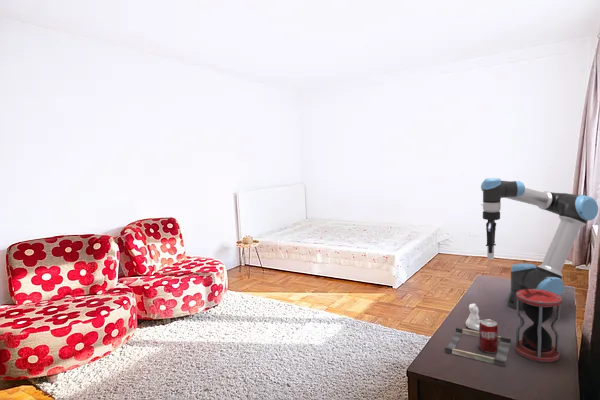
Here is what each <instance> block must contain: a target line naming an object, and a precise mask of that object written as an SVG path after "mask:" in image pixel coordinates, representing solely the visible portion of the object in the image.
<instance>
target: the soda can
mask: <svg viewBox="0 0 600 400" xmlns="http://www.w3.org/2000/svg"><path fill="white" fill-rule="evenodd" d="M480 320H481V321H480V322H479V331H478V332H479V337H478V348H479V349H480V350H481V351H482V352H485V353H488V354H494V353H497V351H498V348H499V341H498V336H499V324H498V322H497V321H495V320H492V319H486V318H485V319H480Z"/></svg>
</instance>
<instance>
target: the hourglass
mask: <svg viewBox="0 0 600 400" xmlns="http://www.w3.org/2000/svg"><path fill="white" fill-rule="evenodd" d="M516 297H517V310H516V316H517V317H518V318H519V320H520V323H519V326H517V327H516V330H515V343H514V350H515V352H516V353H518V354H519V356H522V357H524V358H526V359H528V360H531V361H535V362H541V363H552V362H556V361H558V360H560V351H559V349H560V348H559V346H560V343H559V342H560V334H559V332H558V330H557V329H556V324H557V322H559V320H560V318H561V305H562V303H563V301H562V299H563V298H562V297H561V295H557V294H555V293H552V292H549V291H545V290H539V289H522V290H519V291H517V292H516ZM520 301H522V302H523V309H524V311H523V312H524V313H525V315H526V316H527V318H528V319H529V320H530V321H531V322H532V323H533V324H531V325H530V326H529V327H527V328H526V329H525V330H524V331H523V332H522V337H521V338H522V339H520V330H521V328H522V327H524V324H525V319H524V318H523V317H522V314H521V313H520V312H521V310H520ZM554 307H556V318H555V319H554V320H553V321H552V322H551V324H550V327H551V330H552V332H554V335H555V343H554V345H553V341H552V340H553V338H552V336H551V334H550V333H549V332H548V331H547V329H546V328H545V327H544V326H543V323H545V322H547V321H548V320H549V319H551V317H552V316H553V315H554Z"/></svg>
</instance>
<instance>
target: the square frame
mask: <svg viewBox="0 0 600 400" xmlns="http://www.w3.org/2000/svg"><path fill="white" fill-rule="evenodd" d="M462 335H467V336H472V337H477V338H479V331H477V330H472V329H466V328H461V327H455V333H454V334H453V336H452V338H451V340H450V342H448V345H447V346H445V347H444V352H445V353H448V354H452V355H455V356H460V357H464V358H469V359H472V360H476V361H480V362H485V363H488V364H493V365H497V366H501V367H506V363H507V359H508V355H509V353H510V348H511V343H512V338H511V337H506V336H501V335H498V342H499V344H498V350H497V351H496V355H495V357H491V356H487V355H482V354H479V353H475V352H470V351H467V350H461V349H457V348H456V347H457V345H458V343H459V341H460V339H461V337H462Z"/></svg>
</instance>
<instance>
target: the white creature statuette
mask: <svg viewBox="0 0 600 400" xmlns="http://www.w3.org/2000/svg"><path fill="white" fill-rule="evenodd" d="M468 309H469V311H470V313H469V315H468V318H466V320H465V326H466V327H467V328H468V329H469V330H472V331H477V332H479V322H480V321H481V320H482V319H480V318H481V317H480V316H479V312H480V310H479V307H478V306H477V304H476V303H470V304H469V305H468Z"/></svg>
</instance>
